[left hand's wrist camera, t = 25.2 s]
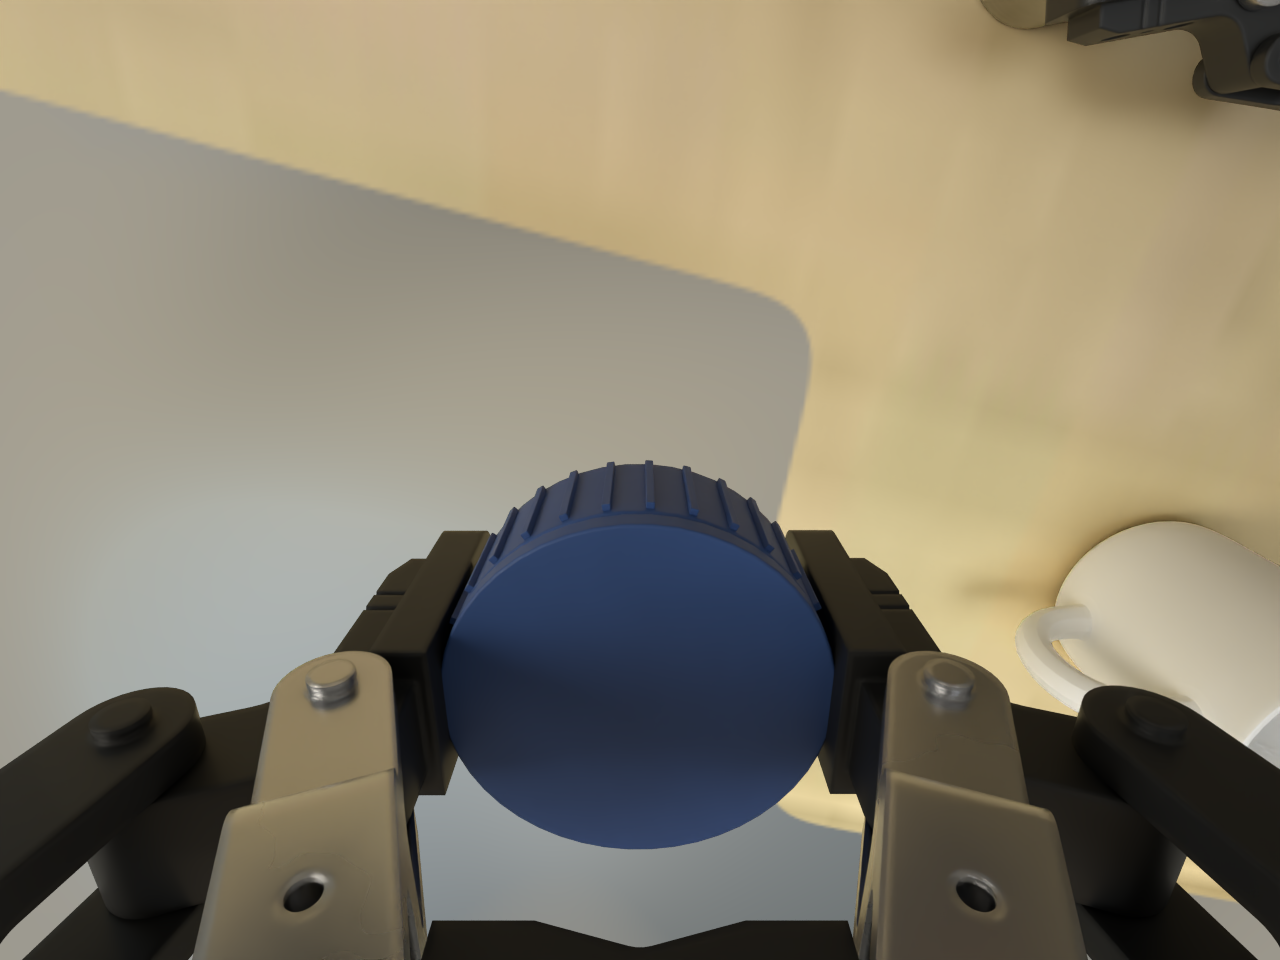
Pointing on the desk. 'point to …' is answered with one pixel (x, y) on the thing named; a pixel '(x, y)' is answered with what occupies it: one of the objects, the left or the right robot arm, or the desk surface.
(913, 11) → the desk surface
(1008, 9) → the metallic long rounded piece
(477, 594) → the lid
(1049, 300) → the desk surface
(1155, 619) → the mug
